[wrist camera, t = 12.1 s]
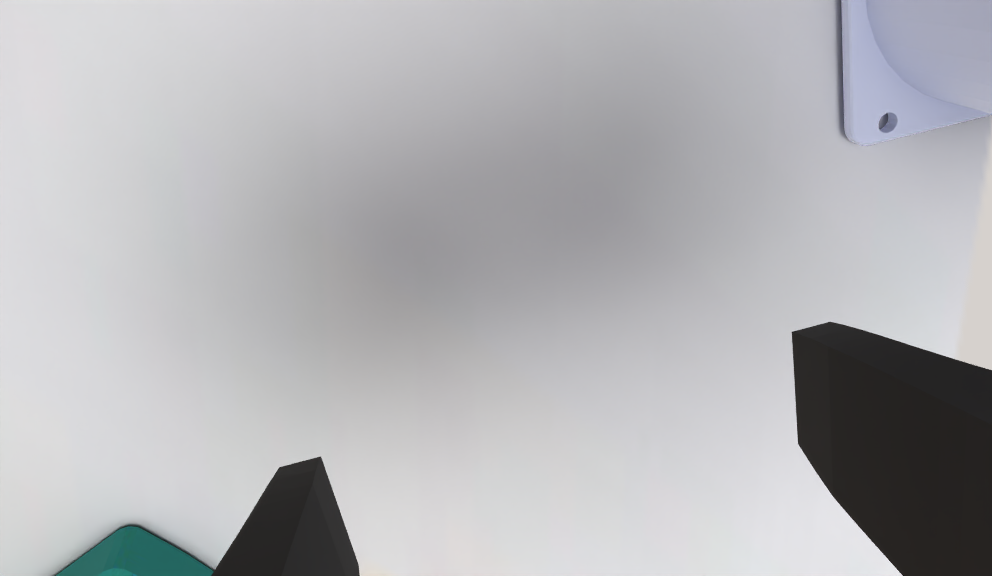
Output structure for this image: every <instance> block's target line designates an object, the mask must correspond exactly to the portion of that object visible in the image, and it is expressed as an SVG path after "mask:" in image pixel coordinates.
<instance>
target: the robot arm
mask: <svg viewBox="0 0 992 576" xmlns="http://www.w3.org/2000/svg"><path fill="white" fill-rule="evenodd" d="M841 4H842V47H843V89H844V129H845V134H846V136H847V138H848V139H849V140H850V141H852V142H854V143H856V144H859V145H862V146H869V145H873V144H877V143H881V142H885V141H889V140H893V139H897V138H901V137H905V136H909V135H913V134H917V133H921V132H925V131H929V130H933V129H937V128H942V127H946V126H950V125H954V124H958V123H962V122H966V121H970V120H974V119H978V118H982V117H986V116H990V115H992V0H841ZM886 113H887V114H888V117H889V118H888V122H887V124H886V125H885V126H884V127H883V128H881V129H879V126H878V125H879V120H880V119H881V117H882V116H883V115H884V114H886ZM792 343H793V360H794V378H795V396H796V414H797V432H798V444H799V446H800V447H801V449H802V451H803V452H804V454H805V455H806V457H807V458H808V460H809V461H810V463H811V465H812V466H813V468H814V469H815V471H816V472H817V474H818V475H819V477H820V478H821V480H822V481H823V483H824V484H825V485H826V487H827V488H828V490H829V491H830V493H831V494H832V496H833V497H834V498H835V499H836V501H837V502H838V503H839V504H840V505H841V506H842V508H843V509H844V510H845V511H846V512H847V513H848V514H849V516H850V517H851V518H852V519H853V520H854V521H855V522H856V524H857V525H858V526H859V527H860V528H861V529H862V530H863V532H864V533H865V534H866V535H867V536H868V537H869V538H870V539H871V541H872V542H873V543H874V544H875V545H876V546H877V547H878V548H879V550H880V551H881V552H882V553H883V554H884V555H885V556H886V557H887V558H888V560H889V561H890V562H891V563H892V564H893V565H894V566H895V567H896V569H897V570H898V571H899V572H900V573H901V574H902V575H903V576H992V370H989V369H985V368H982V367H978V366H975V365H972V364H968V363H965V362H962V361H958V360H955V359H952V358H949V357H946V356H942V355H939V354H936V353H933V352H930V351H927V350H923V349H920V348H917V347H914V346H911V345H908V344H905V343H902V342H899V341H895V340H892V339H889V338H886V337H883V336H880V335H877V334H873V333H870V332H867V331H863V330H860V329H857V328H853V327H849V326H846V325H842V324H837V323H833V322H828V323H824V324H820V325H817V326H813V327H809V328H805V329H801V330H798V331H794V332H792ZM211 576H360V575H359V566H358V562H357V559H356V556H355V553H354V551H353V548H352V545H351V542H350V539H349V536H348V533H347V530H346V528H345V525H344V522H343V519H342V516H341V513H340V510H339V507H338V505H337V502H336V499H335V496H334V493H333V490H332V487H331V484H330V481H329V479H328V476H327V473H326V470H325V467H324V464H323V461H322V458H321V457H317V458H313V459H310V460H306V461H302V462H298V463H294V464H291V465H287V466H283V467H279V469H278V470H277V472H276V473H275V475H274V477H273V478H272V480H271V481H270V483H269V484H268V486H267V487H266V489H265V491H264V492H263V494H262V496H261V497H260V499H259V501H258V502H257V504H256V506H255V507H254V509H253V511H252V512H251V514H250V516H249V517H248V519H247V520H246V522H245V524H244V525H243V527H242V529H241V530H240V532H239V533H238V535H237V537H236V538H235V540H234V541H233V543H232V544H231V546H230V547H229V549H228V550H227V552H226V554H225V555H224V557H223V558H222V560H221V561H220V563H219V564H218V566H217V568H216V569H215V571H214V572H213V573H212V575H211Z"/></svg>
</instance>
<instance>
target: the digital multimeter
mask: <svg viewBox="0 0 992 576" xmlns="http://www.w3.org/2000/svg"><path fill="white" fill-rule="evenodd" d="M213 572H214V571H212V570H211V569H209V568H208V567H206V566H205V565H203V564H202V563H200V562H199V561H197V560H196V559H194V558H193V557H191V556H190V555H188V554H187V553H185V552H183V551H181V550H179V549H178V548H176V547H174V546H172V545H170V544H168V543H167V542H165V541H163V540H161V539H159V538H158V537H156V536H154V535H152V534H150V533H148V532H147V531H145V530H143V529H141V528H139V527H130V526H127V527H124V528H122V529H119V530H117V531H116V532H115V533H113V534H112V535H110V536H109V537H108V538H106V539H105V540H104V541H102V542H101V543H100V544H98V545H97V546H95V547H94V548H93V549H91V550H90V551H89V552H87V553H86V554H85V555H83V556H82V557H80V558H79V559H78V560H76V561H75V562H74V563H72V564H71V565H70V566H68V567H67V568H65V569H64V570H63V571H61V572H60V573H59V574H57V575H56V576H211V575H212V573H213Z"/></svg>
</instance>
